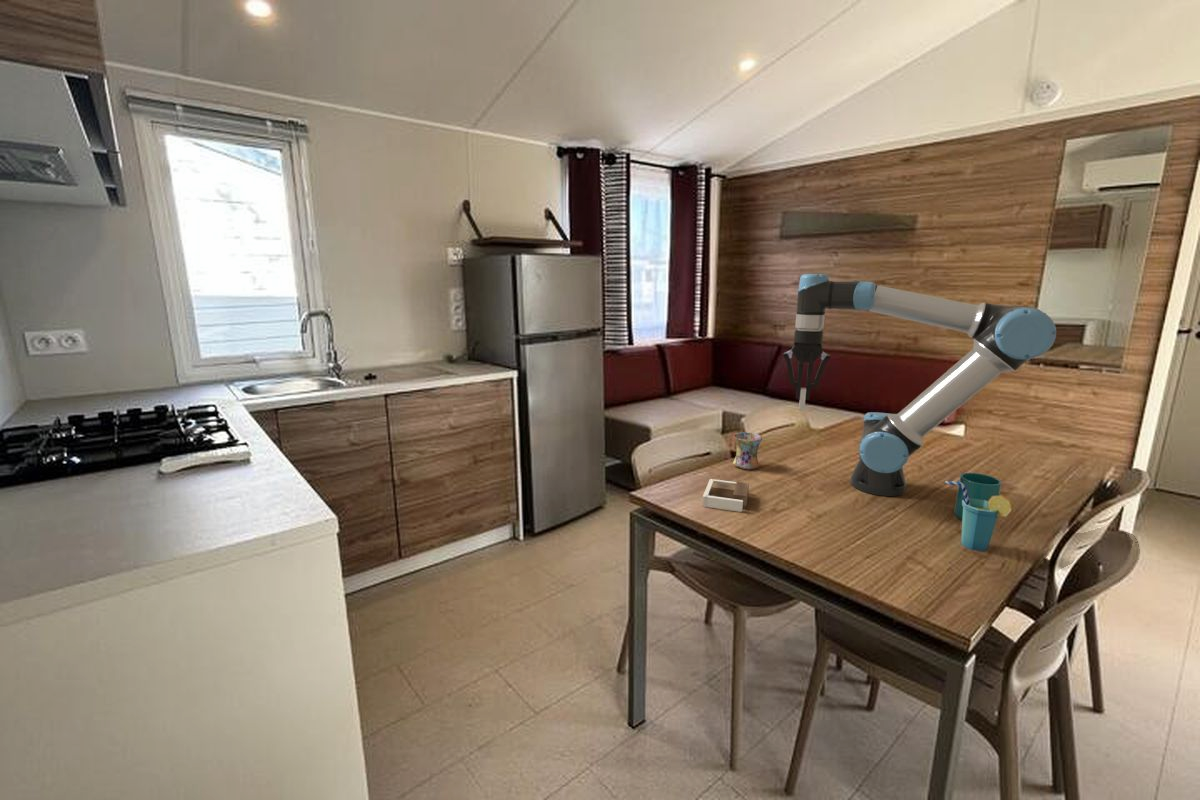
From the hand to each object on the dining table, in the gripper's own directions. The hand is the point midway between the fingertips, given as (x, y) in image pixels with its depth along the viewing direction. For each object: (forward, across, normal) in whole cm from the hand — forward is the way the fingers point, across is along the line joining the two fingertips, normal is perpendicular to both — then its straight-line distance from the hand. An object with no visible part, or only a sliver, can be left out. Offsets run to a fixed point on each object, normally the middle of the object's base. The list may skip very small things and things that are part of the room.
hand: (801, 410), depth 160 cm
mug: (+25, +16, -16) cm, 33 cm away
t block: (+24, +18, +16) cm, 34 cm away
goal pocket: (+24, +18, +16) cm, 34 cm away
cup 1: (+25, -46, +4) cm, 52 cm away
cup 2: (+25, -40, +23) cm, 52 cm away
